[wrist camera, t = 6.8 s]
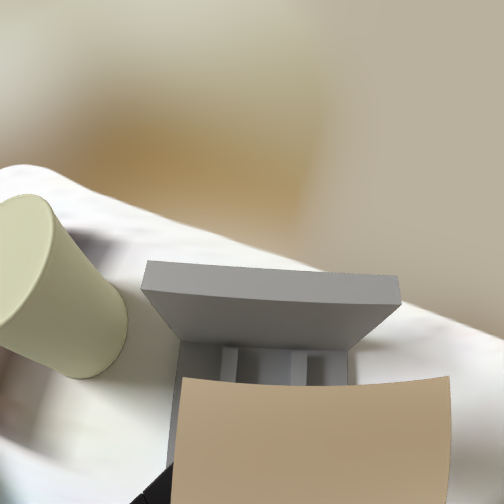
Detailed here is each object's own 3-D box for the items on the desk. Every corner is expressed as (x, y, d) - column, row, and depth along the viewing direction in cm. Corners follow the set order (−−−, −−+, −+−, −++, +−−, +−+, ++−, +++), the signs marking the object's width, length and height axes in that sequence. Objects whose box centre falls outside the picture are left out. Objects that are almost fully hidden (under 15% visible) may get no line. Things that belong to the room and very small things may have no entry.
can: (26, 342, 21) (-66, 283, 10) (74, 263, 25) (7, 175, 15) (95, 400, 19) (-14, 367, 9) (148, 304, 23) (82, 210, 13)
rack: (331, 542, 13) (380, 601, 4) (165, 533, 13) (114, 589, 5) (342, 331, 22) (396, 271, 14) (186, 322, 22) (148, 255, 14)
